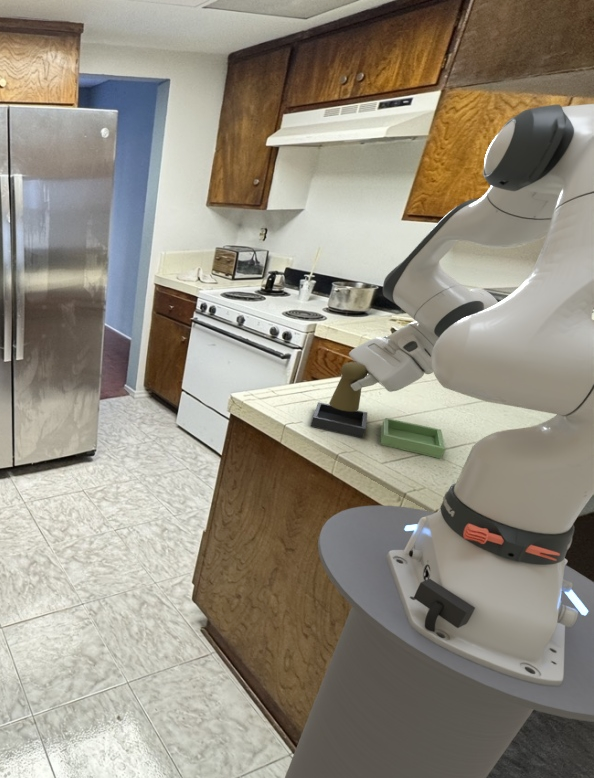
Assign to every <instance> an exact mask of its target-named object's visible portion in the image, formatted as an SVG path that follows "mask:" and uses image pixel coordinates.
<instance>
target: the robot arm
mask: <svg viewBox="0 0 594 778" xmlns="http://www.w3.org/2000/svg"><path fill="white" fill-rule="evenodd" d="M485 153H486V154H485V157H484V163H483V164H484V165H483V170H482V175H483V177H484V180H485V181H486V182H487V184H488V185H489V186H490V187H489V188H488V189H487V191H486V192H485V193H484V194H483V195H482V196H481V197H480V198H472V199H469V200H466V201H465V202H462V203H460V204H459V205H457V206H455V207H454V208H452V210H450V211H449V212H448V213H447V214H445V216H443V218H441V219H440V220H439V221H438V222H437V224H435V225H434V227H433V228H432V229H431V230H429V232H428V233H427V234H426V235H425V237H423V238H422V239H421V241H420V242H419V243H418V244H417V246H415V247H414V249H413V250H412V251H410V253H409V254H408V256H406V257H405V259H404V260H403V261H401V262H400V263H399V264H398V265H397V266H395V267H394V268H393V269H392V270H391V271H390V272H388V274H387V275H386V276H385V277H384V281H383V284H382V295H383V297H385V298H386V299H387V300H389V301H390V302H391V303H392V304H394V305H396V306H398V307H399V308H400V309H401V310H402V311H404V313H406V314H407V315H408V316H409V317H410V318H411V319H413V320H414V321H411V322H409V323H407V324H406V325H403V326H402V327H401V328H399V329H397V330H396V331H394V332H393V333H391V334H389V335H387V336H379V337H374V338H371V339H369V340H367V341H365V342H363V343H362V344H360V345H358V346H356V347H354V348H352V349H351V351H349V353H348V356H349V357H350V359H351V360H352V362H354V363H360V364H363V365H365V366H366V370H367V371H368V374H367V376H365V378H363V379H361V380H358V381H357V380H354V381H353V382H351V383H350V384H349V385H350V386H351V388H352V389H353V390H354V391H357V390H359V389H361V390H362V389H363V388H368V387H371V386H374V385H377V384H379V385H380V386H381V387H382V388H384V389H385V390H386V391H387V392H388V393H389V392H390V393H392V392H398V391H400V390H402V389H404V388H406V387H408V386H410V385H412V384H413V383H416V382H417V381H419V380H421V378H423V377H424V375H432V374H433V375H434V377H435V378H436V380H437V381H438V383H439V384H440V386H442V387H443V388H444V389H448V390H449V391H452V392H456V393H458V394H460V395H464V396H466V397H471V398H474V399H476V400H480V401H482V402H486V403H491V404H497V405H503V406H508V407H512V408H513V407H514V408H520V409H525V410H531V411H534V412H535V411H536V412H542V413H547V414H553V415H554V416H552V417H551V418H550V419H547V420H545V421H543V422H540V423H538V424H534V425H531V426H527V427H520V428H510V429H504V430H503V429H502V430H500V431H496V432H492V433H490V434H488V435H486V436H484V437H482V438H480V439H479V440H478V441H477V442H475V443H474V444H473V445H472V447H471V449H470V452H469V454H468V456H467V458H466V460H465V462H464V465H463V467H462V470H461V472H460V473H459V476H458V478H457V480H456V482H455V483H453V484H451V485H450V486H449V488H448V490H447V491H446V492H445V494H444V496H443V498H442V503H441V504H440V508H439V510H437V511H436V512H435V513H434V514H432V515H428V516H425V517H422V518H421V519H420V520H419V522H418V524H416V525H408V526H406V527H405V530H406V531H410V530H414V532H413V534H412V536H411V538H410V540H409V542H408V544H407V545H406V547H405V549H404V550H391V551H389V553H388V554H387V556H386V558H387V561H388V564H389V567H390V570H391V573H392V575H393V578H394V581H395V584H396V587H397V590H398V593H399V596H400V598H401V601H402V604H403V607H404V610H405V613H406V616H407V618H408V621H409V623H410V625H411V627H412V628H413V629H415V630H416V631H417V632H419V633H420V634H421V635H423V636H424V637H426V638H427V639H429V640H431V641H432V642H434V643H436V644H437V645H439V646H441V647H443V648H445V649H447V650H449V651H450V652H452V653H454V654H457V655H459V656H461V657H463V658H465V659H467V660H470V661H472V662H474V663H477V664H479V665H481V666H484V667H486V668H489V669H492V670H494V671H497V672H499V673H502V674H505V675H508V676H511V677H513V678H517V679H520V680H523V681H527V682H531V683H535V684H540V685H546V686H560V685H561V683H562V681H563V677H564V648H565V626H567V627H572V626H573V625H574V623H575V621H576V619H577V616H578V611H576V610H575V609H573V608H570V607H568V606H565V605H563V604H561V600H560V599H561V592H562V591H564V592H565V593H566V594H567V596H568V597H569V598H570V600H571V601H572V602H573V604H574V605H575V606H576V607H577V609H578V610H579V611H580V613H581V614H582V615H586V614H587V612H588V610H587V609H586V607H585V606H584V605H583V604H582V602H581V601H580V600H579V599H578V597H577V596H576V595H575V594H574V592H573V591H572V590H571V589H572V585H573V584H572V583H570V582H568V581H566V580H563V575H564V567H565V565H566V566H567V564H568V559H567V558H565V557H566V555H567V552H568V550H569V549H570V548H571V546H572V542H573V536H574V534H575V525H574V524H575V522H576V520H577V518H578V517H579V515H580V514H581V513H582V511H583V509H584V508H585V507H586V505H587V504H588V502H589V501H590V500H591V498H592V497H593V496H594V319H593V318H592V317H593V316H592V315H593V312H594V103H587V104H586V103H585V104H576V105H566V106H562V105H560V104H549V105H543V106H537V107H532V108H528V109H525V110H523V111H521V112H520V113H518V114H516V115H515V116H513V117H512V118H510V119H509V120H508V121H507V122H506V123H505V124H504V125H503V127H502V128H501V130H500V131H499V132H498V133H497V134H496V135H495V137H494V138H493V139H492V141H491V143H490V144H489V146H488V148H487V151H486V152H485ZM543 239H544V241H543V244H542V247H541V249H540V252H539V254H538V257H537V259H536V262H535V264H534V266H533V267H532V269H531V270H530V273H529V274H528V275H527V277H526V278H525V280H524V281H522V283H521V284H520V285H519V286H518V287H517V288H515V290H513V291H512V292H511V293H510V294H509V295H507V296H506V297H504V298H503V299H502V300H500V301H498V299H497V298H496V297H495V296H494V295H493V294H492V293H490V292H489V291H488V290H486V289H483V288H480V287H474V288H471V289H468V287H466V286H464V285H463V284H461V283H460V282H459V281H457V280H456V279H454V278H453V277H452V276H450V275H449V274H448V273H446V272H445V271H444V269H443V268H442V267H441V264H440V261H441V260H442V259H443V258H444V257H445V256H446V255H447V254H448V253H449V252H450V251H451V250H452V249H453V248H454V247H455V246H456V245H457V244H458V243H459V242H464V243H470V244H473V245H477V246H480V247H485V248H491V249H512V248H519V247H523V246H528V245H532V244H534V243H536V242H539V241H541V240H543ZM341 377H342V374H341V375H340V378H341Z"/></svg>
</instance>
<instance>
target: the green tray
mask: <svg viewBox="0 0 594 778" xmlns="http://www.w3.org/2000/svg"><path fill="white" fill-rule="evenodd" d="M380 445H381V446H385V447H390V448H395V449H398V450H403V451H407V452H411V453H415V454H419V455H423V456H428V457H433V458H436V459H442V457H443V456H444V452H445V451H446V447H445V442H444V436H443V431H442V429H440V428H435V427H431V426H427V425H423V424H422V425H421V424H416V423H412V422H408V421H402V420H397V419H392V418H388V417H384V418H383V421H382V423H381V426H380Z"/></svg>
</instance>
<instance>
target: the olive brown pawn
mask: <svg viewBox="0 0 594 778" xmlns="http://www.w3.org/2000/svg"><path fill="white" fill-rule="evenodd" d="M340 373H341V375H342V377H341V376H340V379H339V381H338V383H337V386H336V388H335V390H334V392H333V394H332V395H331V399H330V401H329V402H328V404H329V405H331V406H332V407H334V408H336V409H339V410H343V411H357V410H358V411H359V409H360V402H361V394H362V388H361V389H359V390H357V391H354V390H353V389H352V388H351V386H350V385H349V384H350V383H351V382H353V381H354V380H357V381H358V380H361V379H363V378H366V377H365V376H367V375H368V371H367V370H366V366H365V365H363V364H360V363H355V362H354V361H349V362H345V363H344V364H343V365H342V366H341V369H340Z"/></svg>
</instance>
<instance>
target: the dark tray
mask: <svg viewBox="0 0 594 778" xmlns="http://www.w3.org/2000/svg"><path fill="white" fill-rule="evenodd" d="M367 421H368V411H364V410H363V411H362V410H359V409H358V410H357V411H343V410H339V409H336V408H334V407H332V406H331V405H330V404H329V403H324V402H317V404H316V407H315V410H314V412H313V416H312V419H311V423H310V427H312V428H317V429H321V430H325V431H329V432H334V433H338V434H342V435H347V436H350V437H354V438H360V439H363V438H364V435H365V433H366V429H367Z"/></svg>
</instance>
